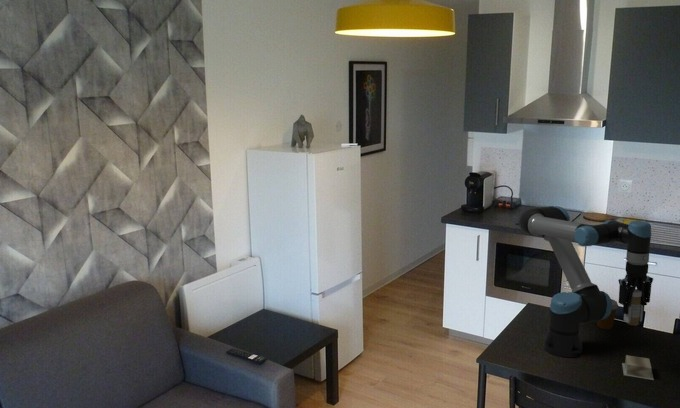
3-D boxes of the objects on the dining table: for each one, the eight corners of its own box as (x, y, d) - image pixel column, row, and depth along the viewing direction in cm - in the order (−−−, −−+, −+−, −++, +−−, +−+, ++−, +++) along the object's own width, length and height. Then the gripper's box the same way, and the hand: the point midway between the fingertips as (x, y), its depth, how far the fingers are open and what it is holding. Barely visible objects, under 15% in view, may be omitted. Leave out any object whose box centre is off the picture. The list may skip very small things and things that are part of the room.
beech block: (626, 374, 215) (627, 364, 214) (625, 364, 223) (626, 355, 222) (650, 378, 212) (651, 368, 211) (648, 368, 220) (649, 358, 219)
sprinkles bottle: (625, 320, 222) (628, 287, 219) (639, 322, 220) (641, 289, 217) (625, 324, 218) (628, 291, 215) (639, 326, 216) (642, 293, 213)
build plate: (623, 376, 215) (623, 375, 215) (621, 364, 224) (622, 362, 224) (653, 381, 211) (653, 379, 211) (650, 369, 220) (650, 367, 220)
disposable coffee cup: (620, 330, 254) (622, 305, 251) (598, 330, 254) (600, 305, 251) (610, 321, 263) (612, 297, 260) (589, 322, 263) (591, 297, 260)
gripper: (623, 267, 209) (619, 327, 213) (664, 263, 212) (659, 322, 217) (610, 261, 216) (606, 319, 220) (650, 257, 220) (645, 314, 224)
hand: (632, 320), depth 219 cm, fingers closed on sprinkles bottle, 4 cm apart
